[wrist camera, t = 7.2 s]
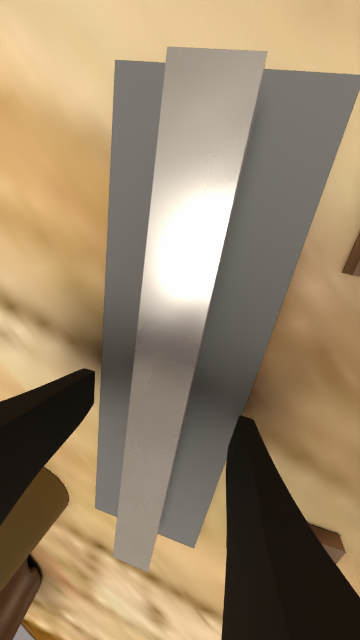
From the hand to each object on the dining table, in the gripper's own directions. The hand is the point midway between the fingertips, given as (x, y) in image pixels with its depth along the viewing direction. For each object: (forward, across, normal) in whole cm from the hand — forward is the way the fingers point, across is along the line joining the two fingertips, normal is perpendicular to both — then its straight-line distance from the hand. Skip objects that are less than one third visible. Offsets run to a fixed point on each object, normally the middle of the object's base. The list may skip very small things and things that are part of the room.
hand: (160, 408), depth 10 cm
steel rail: (+1, 0, 0) cm, 1 cm away
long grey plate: (+2, 0, 0) cm, 2 cm away
